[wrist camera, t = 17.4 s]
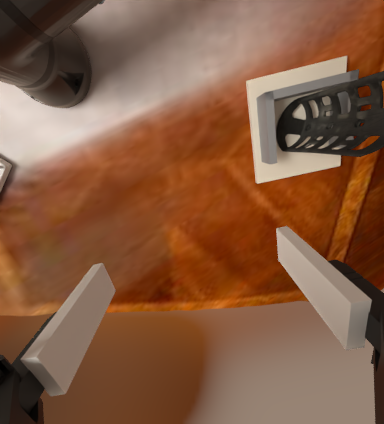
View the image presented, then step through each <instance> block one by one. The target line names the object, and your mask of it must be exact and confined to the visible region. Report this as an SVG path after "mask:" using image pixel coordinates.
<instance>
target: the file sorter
mask: <svg viewBox="0 0 384 424" xmlns="http://www.w3.org/2000/svg"><path fill="white" fill-rule="evenodd" d="M11 167H12V165H11V164H10V163H8V162H6V161H5V160H3V159H2V158H0V192H1V190H2V187H3V185H4V183H5V181H6V178H7V176H8V174H9V172H10V169H11Z"/></svg>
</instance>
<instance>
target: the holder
mask: <svg viewBox="0 0 384 424" xmlns="http://www.w3.org/2000/svg"><path fill="white" fill-rule="evenodd" d="M382 81H384V71H382V72H379V73H376V74H373V75H370V76H367V77H363V78H360V79H357V80H354V81H351V82H348V83H345V84H341V85H338V86H335V87H332V88H329V89H326V90H323V91H320V92H317V93H313V94H310V95H307V96H304V97H300V98H297V99H295V100H294V101H292V102H291V103H290V104H289V105H288V106H287V107H286V109H285V110H284V111H283V113H282V115H281V117H280V119H279V122H278V126H277V135H276V137H277V142H278V145H279V147H280V149H281V150H282V151H285V152H303V153H319V154H332V155H344V156H356V157H361V156H364V155H367V154H370V153H373V152H375V151H377V150H379V149H381V148H383V147H384V108H383V89H382V84H381V83H382ZM366 85H368V86H369V87H370V90H371V95H370V96H367V97H363V98H360V97H359V94H358V88H359V87H363V86H366ZM344 91H346V92H347V93H348V95H349V99H350V103H351V107H350V112H349V113H345V114H341V105H340V100H339V97H338V93H341V92H344ZM326 96H328V97H329V98H330V99H331V104H330V105H324V103H323V101H322V98H323V97H326ZM312 100H314V101H315V103H316V104H317V107H318V117H317V118H313V112H312V108H311V106H310V104H309V101H312ZM300 104H302V105H303V107H304V109H305V113H306V120H302V119H298V118H294V117H293V116H292V113H293V111H294V110H295V109H296V108H297V107H298V106H299V105H300ZM370 104H371V105H372V106H371V109H369V110H366V111H360V110H361V106H364V105H370ZM328 111H333V114H332V115H331V116H326V112H328ZM361 123H364V124H363V126H360V125H361ZM332 125H333V127H332ZM331 127H332V128H331ZM287 134H294V135H300V138H299V139H298V140H297V142H296V143H294V144H293V145H292V146H290V147H287V144H286V140H285V137H286V135H287ZM334 136H338V138H337V139H336V140H335V141H334V142H333V143H331V144H330V145H328V146H327V147H324V148H321V149H320V148H319V147H321V146H322V145H324V144H325V143H326V142H327V141H328V140H330V139H331V138H332V137H334ZM349 136H357V137H356V138H355V139H353V140H346V139H347V138H348V137H349ZM370 136H380V137H379V138H378V139H377V140H376V141H375V142H374V143H372V144H371V145H369V146H367V147H366V148H363V149H360V150H351V149H353V148H355V147H356V146H358V145H359V144H361V143H362V142H363V141H365V140H366V139H367V138H368V137H370ZM307 137H311V138H310V139H309V140H308V141H307V142H306V143H305V144H304V145H302V146H300V147H298V148H296V147H297V146H299V145H300V144H301V143H302V142H303V141H304V140H305V139H306V138H307ZM318 137H323V138H322V139H321V140H317V138H318ZM312 144H313V145H314V146H312V147H309V148H306V147H308V146H310V145H312ZM340 145H346V146H345V147H343V148H340V149H333V148H335V147H337V146H340Z"/></svg>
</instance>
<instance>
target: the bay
mask: <svg viewBox="0 0 384 424" xmlns="http://www.w3.org/2000/svg"><path fill="white" fill-rule="evenodd" d="M346 67H347V56H344V57H340V58H336V59H332V60H328V61H324V62H320V63H316V64H312V65H308V66H304V67H300V68H296V69H292V70H288V71H284V72H280V73H276V74H272V75H268V76H264V77H260V78H256V79H252V80H248V81H247V82H246V87H247V97H248V107H249V118H250V128H251V138H252V148H253V158H254V168H255V178H256V183H257V184H258V183H263V182H268V181H272V180H277V179H282V178H286V177H291V176H295V175H300V174H305V173H309V172H314V171H319V170H323V169H328V168H333V167H337V166H340V165H341V155H332V154H319V153H303V152H285V151H282V150H281V149H280V147H279V145H278V142H277V137H276V135H277V126H278V122H279V119H280V117H281V115H282V113H283V111H284V110H285V109H286V107H287V106H288V105H289V104H290V103H291V102H292V101H294V100H295V99H297V98H300V97H304V96H307V95H310V94H313V93H317V92H320V91H323V90H326V89H329V88H332V87H335V86H338V85H341V84H345V83H348V82H351V81H354V80H357V79H358V75H359V69H358V70H354V71H350V72H346ZM338 97H339V100H340V105H341V114H345V113H349V112H350V107H351V103H350V99H349V95H348V93H347V92H346V91H344V92H341V93H338ZM322 101H323V103H324V105H330V104H331V99H330V98H329V97H328V96H326V97H323V98H322ZM309 104H310V106H311V108H312V112H313V118H317V117H318V107H317V104H316V103H315V101H314V100H312V101H309ZM332 114H333V111H328V112H326V116H331V115H332ZM292 116H293V117H294V118H298V119H302V120H306V113H305V109H304V107H303V105H302V104H300V105H299V106H298V107H297V108H296V109H295V110H294V111H293V113H292ZM332 127H333V125H332ZM332 127H331V128H332ZM353 137H354V136H349V137H348V138H347V139H346V140H353ZM299 138H300V135H294V134H287V135H286V137H285V140H286V144H287V147H290V146H292V145H293V144H294V143H296V142H297V140H298V139H299ZM310 138H311V137H307V138H306V139H305V140H304V141H303V142H302V143H301V144H300V145H299V146H297V147H296V148H298V147H300V146H302V145H304V144H305V143H306V142H307V141H308V140H309V139H310ZM322 138H323V137H318V138H317V140H321V139H322ZM337 138H338V136H334V137H332V138H331V139H330V140H328V141H327V142H326V143H325V144H324V145H322V146H321V147H319V148H320V149H321V148H324V147H327V146H328V145H330V144H331V143H333V142H334V141H335V140H336V139H337ZM312 146H314V145H313V144H312V145H310V146H308V147H306V148H309V147H312ZM345 146H346V145H340V146H337V147H335V148H333V149H340V148H343V147H345Z"/></svg>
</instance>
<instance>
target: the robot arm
mask: <svg viewBox="0 0 384 424" xmlns="http://www.w3.org/2000/svg"><path fill="white" fill-rule="evenodd" d="M104 1H105V0H0V81H2V82H5V83H8V84H12V85H15V86H17V87H18V88H20V89H22V90H23V91H24V92H25V93H26V94H27V95H28V96H30V97H31V98H33V99H34V100H36V101H38V102H40V103H42V104H45V105H48V106H52V107H57V108H68V107H71V106H74V105H76V104H78V103H79V102H80V101H81V100H82V99H83V98H84V97H85V95H86V94H87V92H88V90H89V87H90V83H91V65H90V60H89V57H88V54H87V52H86V49H85V47H84V45H83V44H82V42H81V41H80V39H79V38H78V37H77V35H76V34H75V33H74V32H73V31H72V30H71V29H70V28H69V26H70V25H72V24H73V23H74V22H76V21H77V20H78V19H79V18H81V17H82V16H83V15H85V14H86V13H87V12H88V11H90V10H91V9H92V8H94V7H95V6H96V5H97V4H102V3H104ZM276 230H277V246H278V260H279V261H280V263H281V264H282V265H283V267H284V268H285V269H286V271H287V272H288V273H289V275H290V276H291V277H292V279H293V280H294V281H295V283H296V284H297V285H298V287H299V288H300V289H301V291H302V292H303V293H304V295H305V296H306V297H307V299H308V300H309V301H310V303H311V304H312V305H313V307H314V308H315V309H316V311H317V312H318V313H319V314H320V316H321V317H322V319H323V320H324V321H325V323H326V324H327V325H328V327H329V328H330V329H331V331H332V332H333V333H334V334H335V336H336V337H337V339H338V340H339V341H340V343H341V344H342V345H343V347H344V348H345V349H346V350H350V349H357V348H362V347H364V345H365V339H367V340H368V341H369V342H370V343H371V344H372V345H373V346H374V350H373V355H372V360H371V363H372V364H374V392H375V420H376V421H375V423H376V424H384V293H383V292H381V291H380V290H379V289H378V288H376V287H375V286H374V285H373V284H371V283H370V282H369V281H367V280H366V279H364V278H363V277H362V276H361V275H360V274H358V273H356V271H355V270H353V269H352V268H351V267H350V266H348V265H347V264H345V263H342V262H340V261H338V260H331V261H327V260H325V259H324V258H323V257H322V256H321V255H320V254H318V253H317V252H316V251H315V250H314V249H313V248H312V247H310V246H309V245H308V244H307V243H306V242H305V241H304V240H302V239H301V238H300V237H299V236H298V235H297V234H295V233H294V232H293V231H292V230H291V229H290V228H289V227H287V226H286V227H281V228H276ZM115 291H116V290H115V288H114V286H113V284H112V282H111V279H110V277H109V275H108V273H107V271H106V269H105V267H104V264H103V263H100V264H95V265H93V266H92V267H91V269H90V270H89V271H88V272H87V274H86V275H85V276H84V278H83V279H82V280H81V282H80V283H79V284H78V285H77V287H76V288H75V289H74V291H73V292H72V293H71V295H70V296H69V297H68V298H67V300H66V301H65V302H64V304H63V305H62V306H61V307H60V309H59V310H58V311H57V312H55V313H54V314H53V315H52V316H51V317H50V318H49V319H47V320H46V322H45V323H44V324H43V325H42V327H41V328H40V330H39V331H38V332H37V333H36V334H35V335H34V338H32V339H31V340H30V342H29V343H28V344H27V345H26V347H25V348H24V349H23V350H22V352H21V353H20V354H19V356H18V357H17V358H16V359H15V361H14V362H13V363H12V364H10V363H9V362H8V360H7V359H6V358H5V357H4V356H3V355H0V424H44V417H43V402H42V399H41V398H40V396H41V394H42V393H43V391H44V389H45V390H46V391H47V392H48V394H49V395H50V396H55V395H61V394H66V392H67V390H68V388H69V386H70V384H71V381H72V379H73V377H74V375H75V373H76V371H77V369H78V367H79V365H80V363H81V361H82V359H83V357H84V355H85V353H86V351H87V349H88V347H89V344H90V342H91V341H92V338H93V336H94V334H95V332H96V330H97V328H98V326H99V324H100V322H101V320H102V318H103V316H104V314H105V312H106V310H107V308H108V306H109V304H110V302H111V300H112V297H113V295H114V293H115Z"/></svg>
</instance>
